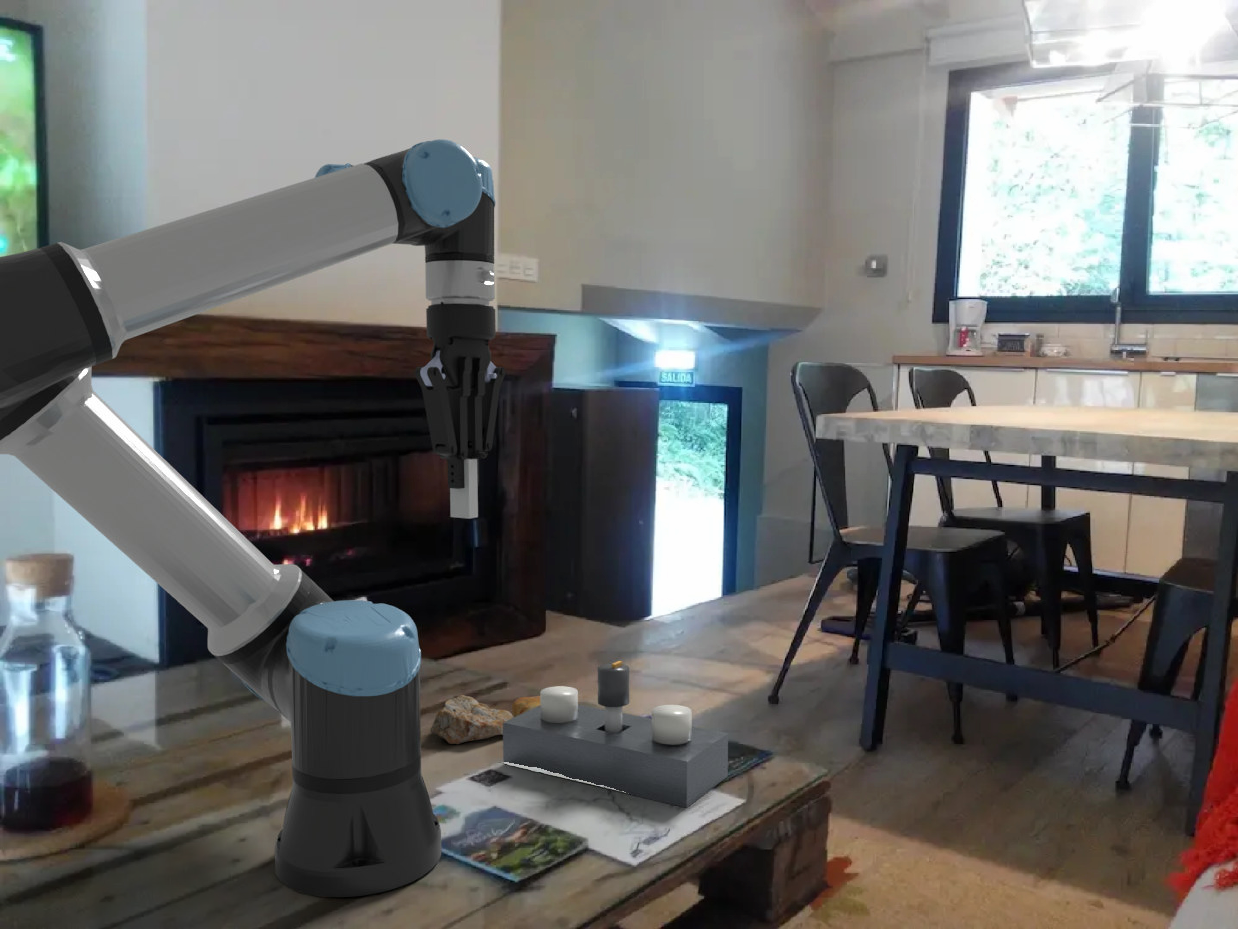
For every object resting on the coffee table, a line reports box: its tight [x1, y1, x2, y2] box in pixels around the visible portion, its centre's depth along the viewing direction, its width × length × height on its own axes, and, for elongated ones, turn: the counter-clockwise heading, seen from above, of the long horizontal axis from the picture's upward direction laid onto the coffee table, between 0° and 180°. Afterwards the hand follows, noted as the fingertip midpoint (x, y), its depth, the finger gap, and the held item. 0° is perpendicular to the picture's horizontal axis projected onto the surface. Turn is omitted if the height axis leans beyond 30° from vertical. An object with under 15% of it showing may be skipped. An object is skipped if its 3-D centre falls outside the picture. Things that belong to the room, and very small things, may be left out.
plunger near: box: [651, 704, 693, 745], centre depth 116 cm, size 4×4×8 cm
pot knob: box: [597, 660, 630, 734], centre depth 120 cm, size 4×4×9 cm
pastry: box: [510, 695, 540, 717], centre depth 137 cm, size 9×7×4 cm
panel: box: [502, 704, 729, 809], centre depth 120 cm, size 24×10×5 cm, turn 59°
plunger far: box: [539, 685, 579, 723], centre depth 124 cm, size 4×4×8 cm
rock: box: [429, 693, 514, 745], centre depth 133 cm, size 9×6×10 cm
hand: (464, 516), depth 117 cm, fingers closed
